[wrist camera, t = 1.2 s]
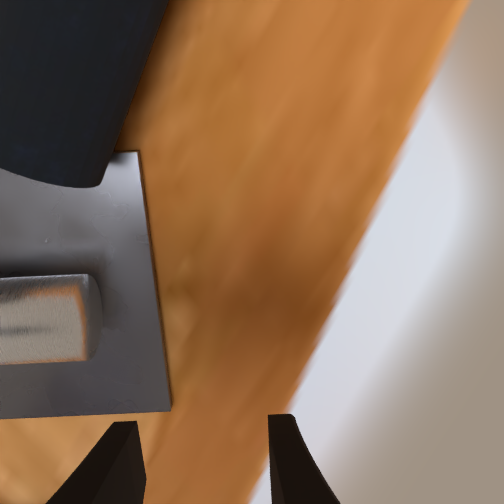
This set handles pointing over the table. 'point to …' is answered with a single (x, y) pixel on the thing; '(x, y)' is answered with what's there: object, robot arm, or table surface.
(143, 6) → the pipe connector
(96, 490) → the robot arm
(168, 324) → the table surface
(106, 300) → the grey cradle rack
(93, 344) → the grey long cylinder
